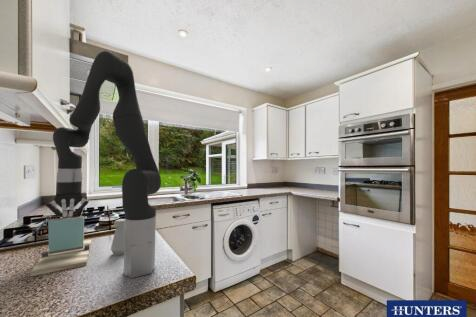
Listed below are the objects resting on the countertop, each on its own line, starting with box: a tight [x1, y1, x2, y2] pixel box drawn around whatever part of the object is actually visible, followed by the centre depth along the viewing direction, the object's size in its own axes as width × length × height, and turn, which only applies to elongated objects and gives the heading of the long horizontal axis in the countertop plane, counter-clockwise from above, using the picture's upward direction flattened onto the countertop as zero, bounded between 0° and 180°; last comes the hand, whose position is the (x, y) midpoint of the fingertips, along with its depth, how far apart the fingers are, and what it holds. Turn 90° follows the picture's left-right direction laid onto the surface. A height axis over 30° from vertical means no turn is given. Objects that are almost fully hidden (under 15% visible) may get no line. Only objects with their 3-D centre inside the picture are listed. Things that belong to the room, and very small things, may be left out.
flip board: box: [29, 238, 93, 277], centre depth 77 cm, size 26×14×3 cm, turn 32°
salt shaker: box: [110, 218, 125, 256], centre depth 80 cm, size 6×6×13 cm
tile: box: [47, 215, 85, 254], centre depth 76 cm, size 13×10×1 cm
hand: (67, 226), depth 77 cm, fingers closed
